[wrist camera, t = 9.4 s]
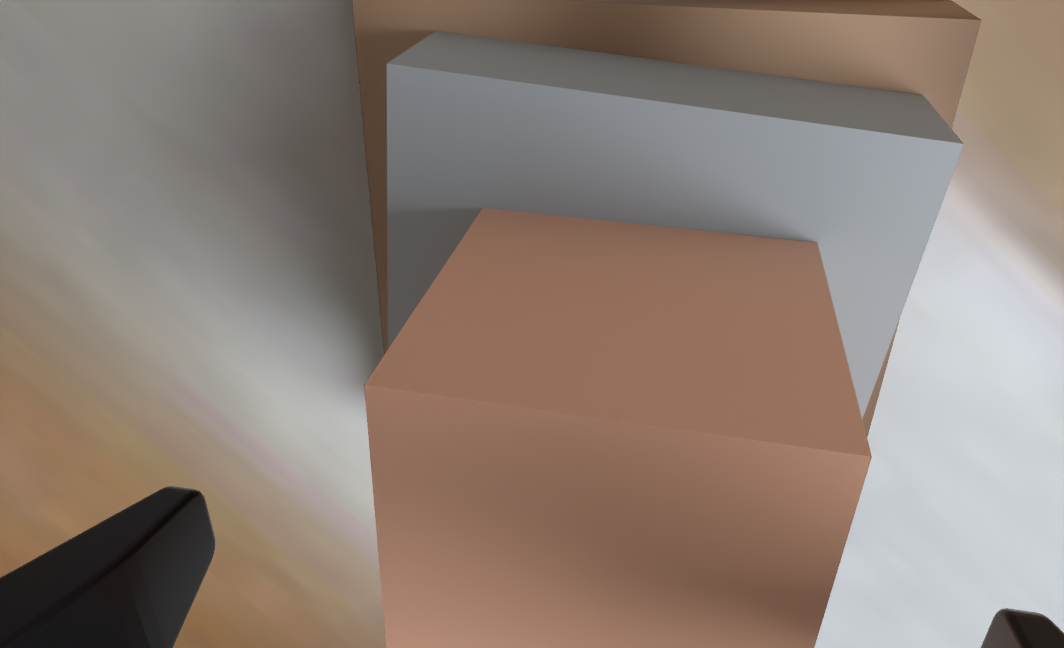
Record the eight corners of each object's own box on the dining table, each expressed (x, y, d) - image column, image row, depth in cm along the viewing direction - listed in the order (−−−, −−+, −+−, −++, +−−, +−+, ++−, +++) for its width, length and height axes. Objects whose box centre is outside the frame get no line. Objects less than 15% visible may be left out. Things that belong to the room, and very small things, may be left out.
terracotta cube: (817, 242, 12) (871, 456, 8) (759, 502, 14) (775, 774, 10) (482, 207, 13) (363, 384, 8) (482, 460, 15) (390, 695, 11)
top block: (923, 95, 13) (963, 143, 11) (796, 478, 17) (807, 567, 15) (436, 30, 14) (386, 63, 12) (426, 407, 18) (388, 482, 16)
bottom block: (941, -6, 15) (981, 20, 12) (831, 442, 20) (845, 515, 17) (398, -28, 16) (351, -9, 14) (425, 393, 21) (393, 455, 19)
